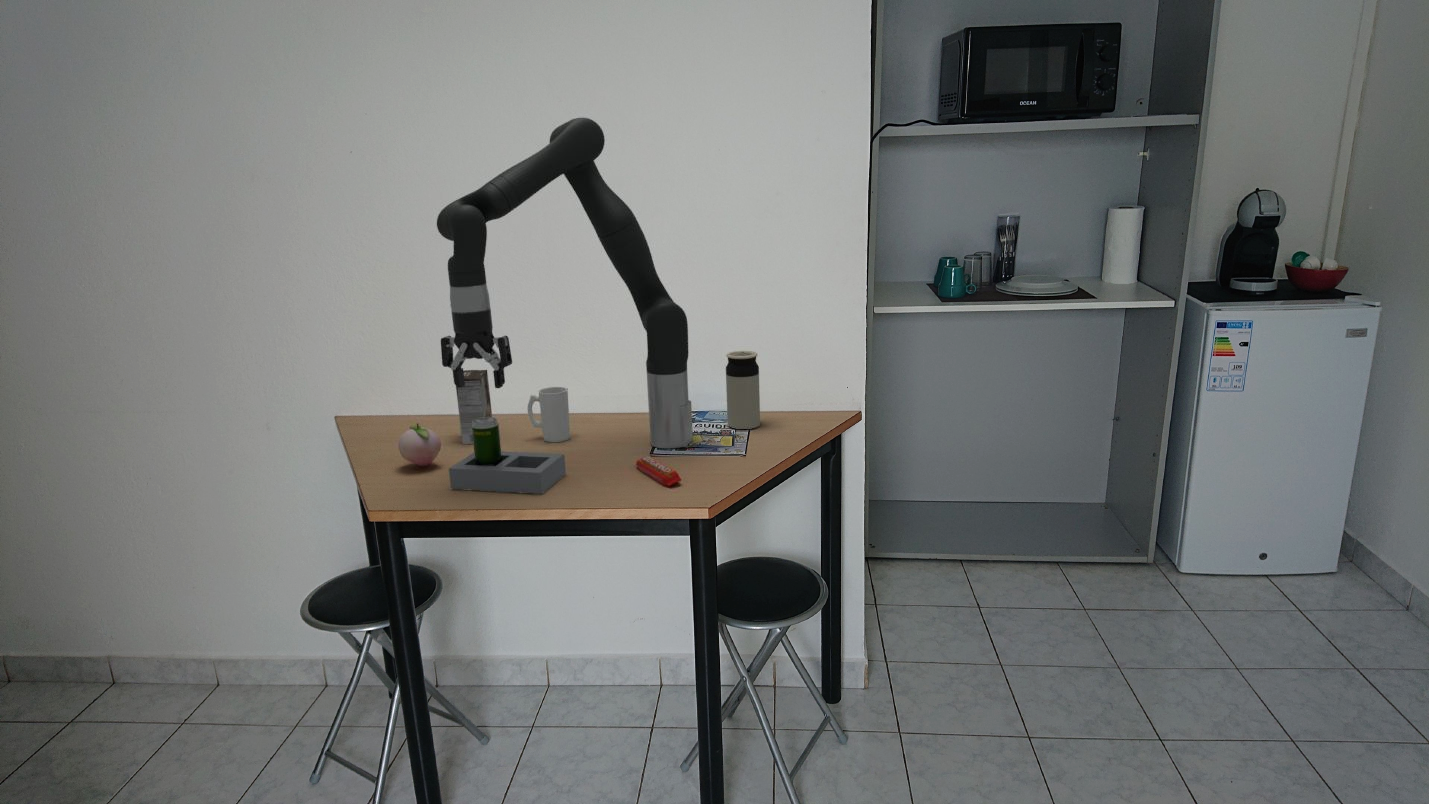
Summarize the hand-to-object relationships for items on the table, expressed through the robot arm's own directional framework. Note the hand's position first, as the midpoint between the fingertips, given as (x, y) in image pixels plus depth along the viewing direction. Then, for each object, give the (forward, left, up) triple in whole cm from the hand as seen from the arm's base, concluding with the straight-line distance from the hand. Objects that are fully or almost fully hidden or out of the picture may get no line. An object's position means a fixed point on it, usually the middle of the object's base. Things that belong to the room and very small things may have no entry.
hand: (479, 387), depth 182 cm
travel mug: (-44, -46, -20) cm, 67 cm away
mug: (0, -30, -20) cm, 36 cm away
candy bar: (-34, -8, -21) cm, 41 cm away
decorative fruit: (+20, -6, -20) cm, 29 cm away
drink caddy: (-4, 0, -20) cm, 21 cm away
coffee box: (+18, -28, -20) cm, 39 cm away
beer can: (0, 0, -19) cm, 19 cm away
